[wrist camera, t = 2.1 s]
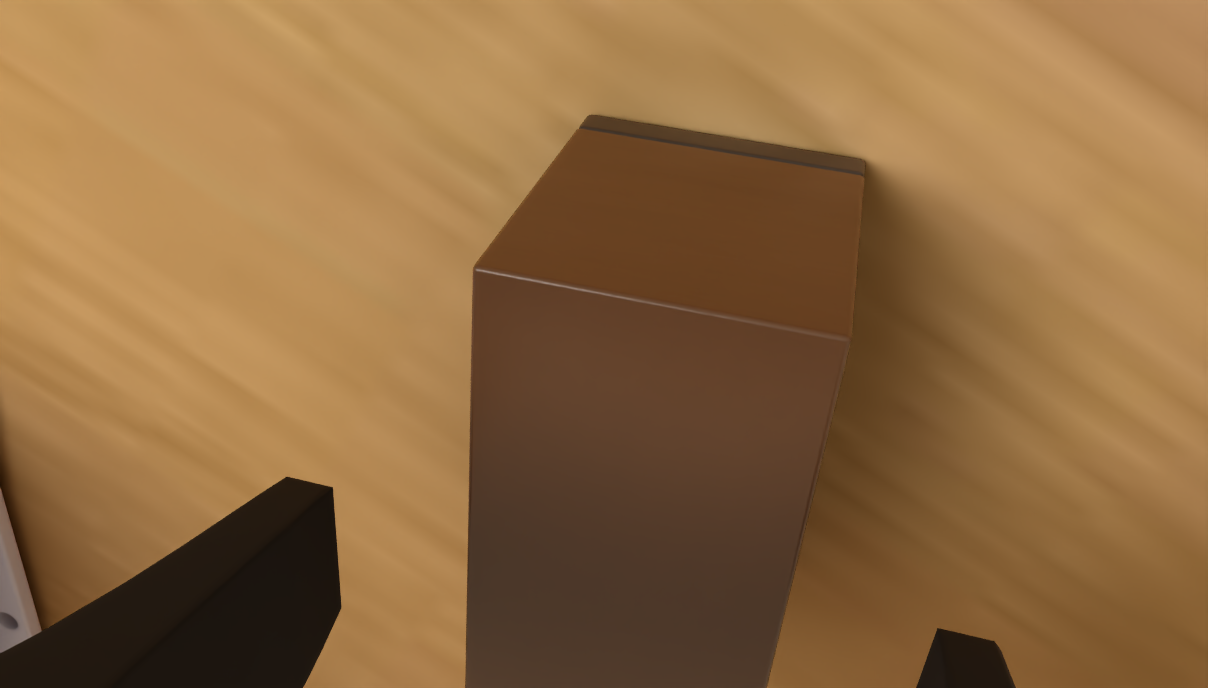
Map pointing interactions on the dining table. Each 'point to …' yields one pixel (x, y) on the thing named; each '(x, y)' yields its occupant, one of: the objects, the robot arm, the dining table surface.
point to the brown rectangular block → (653, 407)
